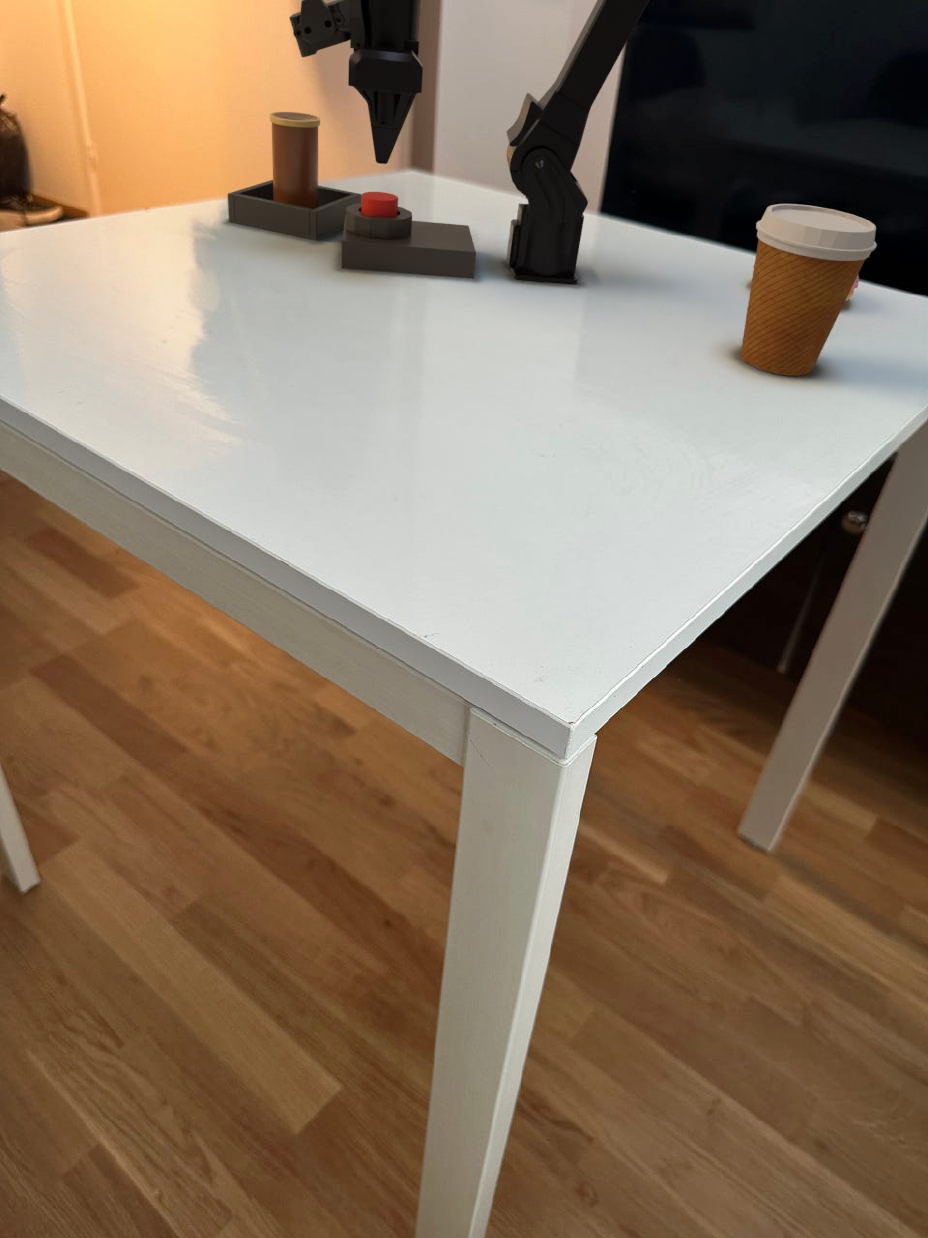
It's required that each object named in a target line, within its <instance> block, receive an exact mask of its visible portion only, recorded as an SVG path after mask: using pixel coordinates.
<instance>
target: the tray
mask: <svg viewBox="0 0 928 1238" xmlns="http://www.w3.org/2000/svg"><path fill="white" fill-rule="evenodd" d="M362 194H363V193H362ZM362 194H361V193H358V192H353V191H347V190H343V189H337V188H333V187H328V186H322V185H318V208H315V209H310V208H305V207H301V206H296V205H291V204H286V203H281V202H276V201H273V179H270V180H268V181H263V182H261V183H257V184H255V185H251V186H248V187H244V188H241V189H238V190H235V191H231V192H227V209H228V223H231V224H235V225H240V226H245V227H250V228H255V229H259V230H262V231H263V230H264V231H268V232H273V233H277V234H282V235H286V236H290V237H291V236H292V237H295V238H301V239H305V240H309V241H315V242H317V241H320V240H322V239H324V238H327V237H329V236H331V235H334V234H335V233H338V232H340V231H342V230H343V229H344V222H345V215H346V210H347V206H351V205H354V204H358V203H362Z"/></svg>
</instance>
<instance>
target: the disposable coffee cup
mask: <svg viewBox="0 0 928 1238" xmlns="http://www.w3.org/2000/svg"><path fill="white" fill-rule="evenodd" d="M755 224H756V225H755V229H756V230H757V232H756V237H757V238H758V240H757V246H756V247H757V248H756V252H755V253H756V254H755V260H754V264H753V266H754V267H753V270H752V278H751V285H750V290H749V297H748V303H747V309H746V317H745V322H744V329H743V337H742V343H741V349H740V354H739V355H740V358H741V359H742V361H744V362H745V363H747V364H748V365H750V366H752V367H754V368H756V369H759V370H762V371H765V372H768V373H771V374H777V375H783V376H784V375H785V376H803V375H804V376H805V375H807V374H810V373H812V372H813V370H814V368H815V365H816V364H817V361H818V359H819V357H820V354H821V353H822V350H823V349H824V346H825V344H826V343H827V340H828V338H829V336H830V334H831V331H832V330H833V329H834V326H835V323H836V322H837V320H838V317H839V315H840V313H841V312H842V311H841V310H842V309H843V307H844V305H845V302H847V301H846V299H847V296H848V294H849V292H850V290H851V288H852V286H853V284H854V282H855V279H856V278H857V276H859V273H860V271H861V269H862V267H863V265H864V263H865V261H866V259H867V258H868V259H869V258H870V255H871V253H872V252H874V251H875V250H876V249H877V246H878V244H877V242H876V241H875V240H876V239H875V238H876V231H877V226H876V225H875V224H874V223H873V222H872V221H870V220H867V219H866V218H863V217H860V216H858V215H855V214H852V213H849V212H846V211H845V212H844V211H842V210H841V211H840V210H837V209H833V208H827V207H821V206H816V205H808V204H799V203H798V204H797V203H777V204H772V205H769V206H767V207H766V209H765V211H764V213H763V215H762V217H761V219H760V220H757V222H756V223H755Z"/></svg>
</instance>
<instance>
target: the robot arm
mask: <svg viewBox="0 0 928 1238" xmlns="http://www.w3.org/2000/svg"><path fill="white" fill-rule="evenodd" d="M649 2H650V0H596V2H595V4H594V6H593V8H592V10H591V12H590V14H589V16H588V18H587V20H586V21H585V24H584V25H583V27H582V29H581V31H580V33H579V35H578V37H577V38H576V41H575V43H574V45H573V47H572V48H571V51H570V52H569V53H568V56H567V57H566V60H565V62H564V64H563V66H562V68H561V70H560V71H559V74H558V76H557V78H556V79H555V81H554V82H553V84H552V85H551V86H550V87H549V88H548V90H547V91H546V92H545V93H544V94H543V95H542V97H541V98H540V99H539V100H537V98H535V97H534V96H533V95H532V94H531V93H530V92H526V94H525V96H524V99H523V102H522V104H521V105H522V106H521V108H520V112H519V114H518V117H517V119H516V120H515V122H514V123H513V125H512V126H510V127H509V128H508V129H507V130H506V137H507V141H508V145H507V148H506V162H507V165H508V170H509V173H510V178H511V181H512V183H513V185H514V186H515V188H516V190H517V191H519V192H520V193H521V194H522V195H523V196H525V199H526V200H527V203H518V208H517V215H516V219H515V218H514V219H512V220H511V221H510V226H509V235H508V244H507V251H506V263H507V265H508V266H507V267H509V269H510V270H511V272H512V275H513V278H514V279H516V280H522V281H535V282H547V283H559V284H572V285H574V284H576V285H577V284H578V282H579V278H578V275H577V274H576V269H577V263H578V257H579V252H580V251H579V249H580V245H581V238H582V232H583V228H584V227H583V226H584V220H585V215H584V213H585V210H586V209H587V207H588V205H589V200H588V199H587V196H586V195H585V192H584V190H583V189H582V187H581V184H580V182H579V181H578V180H577V177H575V175H574V174H573V172H572V169H573V166H574V163H575V160H576V157H577V155H578V152H579V149H580V147H581V144H582V140H583V136H584V133H585V129H586V125H587V122H588V118H589V114H590V113H591V109H592V107H593V104H594V102H595V101H596V99H597V97H598V95H599V93H600V92H601V90H602V88H603V86H604V84H605V82H606V80H607V79H608V77H609V75H610V73H611V71H612V70H613V68H614V66H615V64H616V62H617V60H618V59H619V56H620V55H621V53H622V51H623V49H624V47H625V46H626V44H627V42H628V40H629V38H630V36H631V35H632V33H633V31H634V29H635V28H636V25H637V23H638V22H639V20H640V18H641V16H642V15H643V13H644V11H645V9H646V8H647V6H648V4H649ZM420 17H421V0H332V1H329V2H325V1H324V0H301V4H300V11H298V12H295V13H292V14H291V15H290V16H289V18H288V19H289V21H290V25H291V28H292V31H293V32H292V34H293V37H294V38H295V40H296V43H297V47H298V50H299V54H300V56H301V57H302V58H307V57H310V56H313V55H316V54H317V53H318V51H320V50H324V49H327V48H330V47H332V46H333V47H334V46H337V45H340V44H343V43H346V42H349V43H350V45H349V46H350V47H349V49H353V52H352V53H351V54H350V55H349V59H348V78H347V80H348V83H347V85H348V86H349V87H353V89H355V90H356V91H357V92H358V93H359V95H360V96H361V97H362V98H363V99H364V101H365V102H366V103H367V108H368V115H369V123H370V131H371V137H372V145H373V151H374V158H375V162H376V164H380V165H387V164H388V163H389V160H390V158H391V156H392V153H393V151H394V149H395V146H396V144H397V141H398V139H399V137H400V134H401V131H402V129H403V127H404V124H405V123H406V119H407V117H408V115H409V113H410V110H411V108H412V105H413V103H414V101H415V98H416V96H417V95H418V94H422V89H423V73H424V71H423V70H424V67H423V63H422V61H421V60H420V59H419V52H420V51H419V49H420V40H419V34H420Z"/></svg>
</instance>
